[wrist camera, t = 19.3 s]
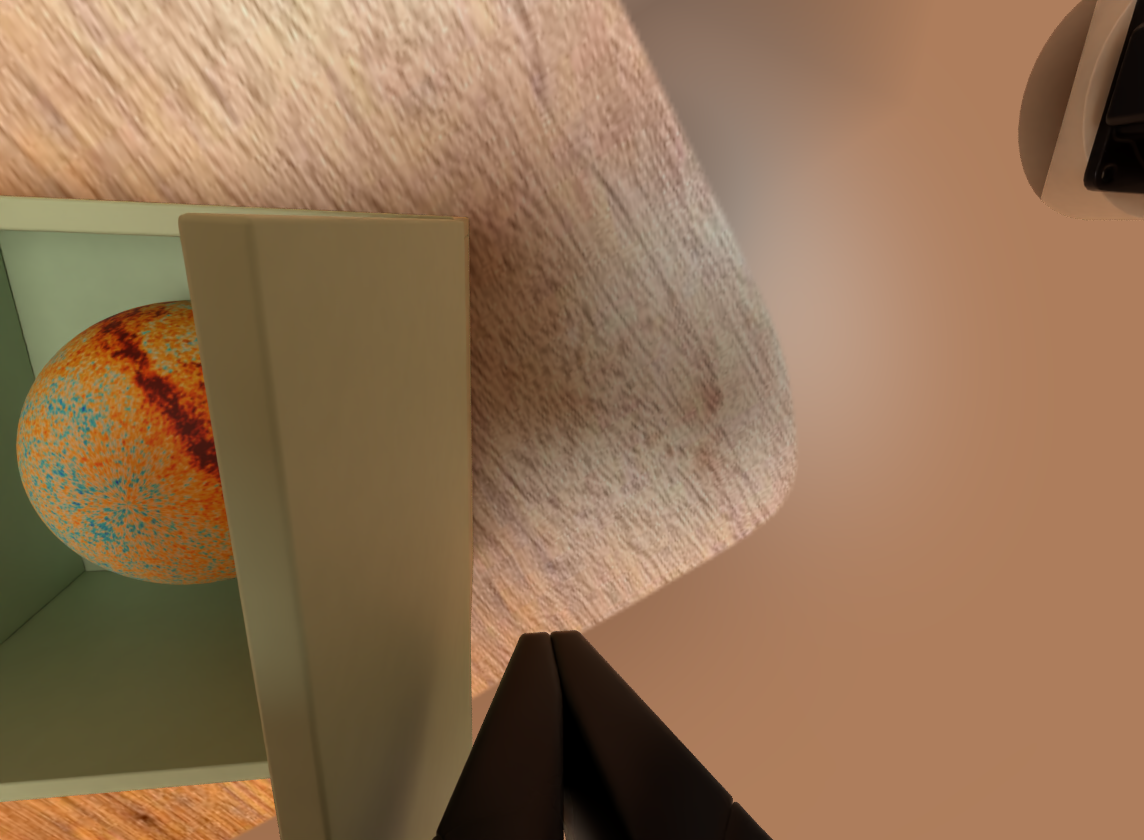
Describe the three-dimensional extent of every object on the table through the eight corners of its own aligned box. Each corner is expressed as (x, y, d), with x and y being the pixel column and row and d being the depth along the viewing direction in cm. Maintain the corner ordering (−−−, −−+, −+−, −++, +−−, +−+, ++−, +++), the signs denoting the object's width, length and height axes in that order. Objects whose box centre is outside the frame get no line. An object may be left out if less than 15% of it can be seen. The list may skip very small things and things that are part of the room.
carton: (468, 217, 18) (454, 216, 10) (473, 560, 21) (465, 761, 13) (-19, 194, 16) (-539, 170, 8) (82, 575, 20) (-195, 820, 12)
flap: (438, 219, 9) (464, 220, 9) (455, 786, 13) (473, 787, 13) (171, 212, 3) (250, 216, 3) (352, 1285, 7) (386, 1285, 7)
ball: (193, 525, 19) (37, 686, 12) (87, 315, 17) (-175, 378, 10) (403, 473, 19) (361, 602, 13) (331, 261, 17) (234, 288, 10)
